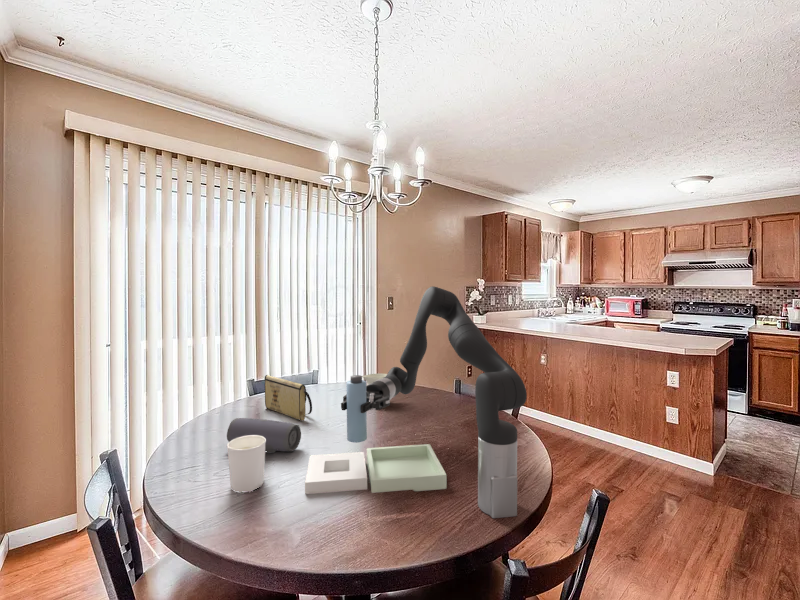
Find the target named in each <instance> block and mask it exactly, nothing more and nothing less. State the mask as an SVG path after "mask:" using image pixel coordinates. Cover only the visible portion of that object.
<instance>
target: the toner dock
mask: <svg viewBox="0 0 800 600" xmlns="http://www.w3.org/2000/svg"><path fill="white" fill-rule="evenodd" d="M365 457H366V456H365V451H359V452H358V451H357V452H356V451H355V452H343V453H342V452H341V453H340V452H339V453H329V454H327V453H326V454H325V453H324V454H312V455H309V459H308V464H307V465H308V466H307V471H306V476H305V481H304V495H313V494H325V493H338V492H348V491H351V492H352V491H363V490H368V474H367V473H368V472H367V467H366V460H365Z"/></svg>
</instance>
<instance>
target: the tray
mask: <svg viewBox="0 0 800 600" xmlns="http://www.w3.org/2000/svg"><path fill="white" fill-rule="evenodd" d="M366 462H367V463H366V464H367V469H368V470H367V472H368V479H369V483H370V491H371V492H370V493H372V494H374V493H385V492H387V493H388V492H398V491H399V492H400V491H409V490H410V491H411V490H412V491H413V492H423V491H434V490H435V491H436V490H446V489H447V473H446V471H445V470H444V467H443V465H442V464H441V462H440V460H439V459H438V456H437V455H436V453H435V451H434V450H433V448H432V446H431V444H430V443H428V444H427V443H424V444H412V445H410V444H409V445H397V446H396V445H395V446H382V447H367V448H366Z"/></svg>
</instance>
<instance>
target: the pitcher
mask: <svg viewBox="0 0 800 600" xmlns="http://www.w3.org/2000/svg"><path fill="white" fill-rule="evenodd" d="M387 374H388V373H369V374H365V375H361V376H362V379H365V381H366V386H367V385H368V384H370V383H372V382H374V381H376V380H379V379H382V378H384V377H386V376H387ZM395 397H396V396H394V397H393V398H395Z"/></svg>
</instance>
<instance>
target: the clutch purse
mask: <svg viewBox="0 0 800 600" xmlns="http://www.w3.org/2000/svg"><path fill="white" fill-rule="evenodd" d="M307 400H308V404H309V412H308V413H306V408H307V407H306V403H307ZM264 406H265V408H266V409H269V410H270V411H271V410H272V411H274V412H277V413H280V414H283V415H285V416H288V417H290V416H291V417H290V418H294V419H297V420H298V419H299V421H301V422H303V421H302V420H304V421H305V419H306V415H310V414H312V412H313V403H312V399H311V396H310V394H309V393H308V392H307V387H306V385H305V384H302V383H299V382H295V381H290V380H287V379H284V378H280V377H276V376H271V375H269V374H266V375H265V376H264Z"/></svg>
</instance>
